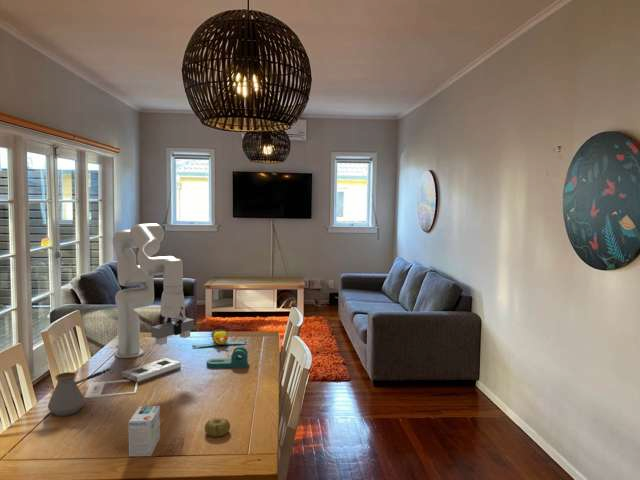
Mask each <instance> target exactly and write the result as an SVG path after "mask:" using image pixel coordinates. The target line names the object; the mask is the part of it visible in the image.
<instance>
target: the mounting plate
mask: <svg viewBox="0 0 640 480" xmlns="http://www.w3.org/2000/svg"><path fill="white" fill-rule="evenodd" d="M181 364H182V363H181V361H178V360H175V359H171V358H167V357H163V358H161V359H158V360H155V361H152V362H149V363H146V364H142V365H139V366H136V367H133V368H130V369H127V370H123V371H121V376H122V377H121V378H122V380H129V381H128V382H130V383H132V384H133V383H134V384H136V383H138V385H139V384H141V383H144V382H147V381H149V380H153V379H157V378H159V377H162V376H164V375H167V374H169V373H173V372H176V371H178V370H181V368H182V365H181Z"/></svg>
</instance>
